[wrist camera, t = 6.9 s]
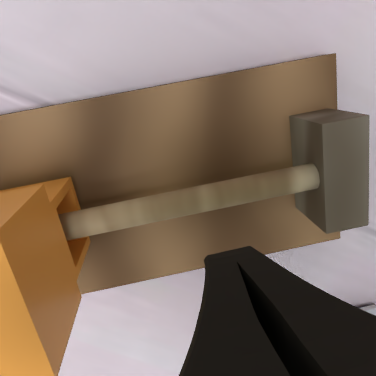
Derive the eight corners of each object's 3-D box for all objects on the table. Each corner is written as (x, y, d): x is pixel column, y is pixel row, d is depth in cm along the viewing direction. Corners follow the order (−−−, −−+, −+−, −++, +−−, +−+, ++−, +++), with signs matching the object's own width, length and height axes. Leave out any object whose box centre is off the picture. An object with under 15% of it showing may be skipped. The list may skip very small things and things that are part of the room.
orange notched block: (65, 161, 15) (-5, 232, 8) (94, 254, 17) (56, 379, 10) (-22, 178, 15) (-171, 266, 8) (15, 271, 17) (-81, 411, 10)
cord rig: (325, 54, 17) (416, 42, 11) (331, 230, 20) (403, 290, 14) (-167, 146, 15) (-351, 185, 10) (-75, 318, 19) (-172, 421, 13)
